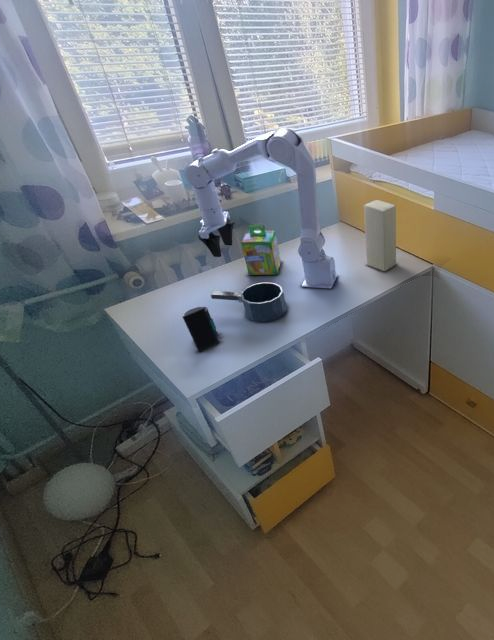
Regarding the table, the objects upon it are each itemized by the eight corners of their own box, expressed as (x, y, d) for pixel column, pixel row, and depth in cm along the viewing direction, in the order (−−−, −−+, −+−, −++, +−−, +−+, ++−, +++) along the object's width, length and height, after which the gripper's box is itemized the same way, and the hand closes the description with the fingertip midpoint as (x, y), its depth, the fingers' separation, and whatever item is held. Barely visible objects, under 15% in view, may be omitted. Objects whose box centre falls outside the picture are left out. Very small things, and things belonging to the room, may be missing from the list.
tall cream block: (398, 263, 148) (397, 204, 135) (385, 272, 143) (383, 211, 130) (380, 257, 151) (377, 198, 138) (366, 265, 146) (362, 205, 133)
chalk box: (248, 275, 138) (236, 232, 128) (254, 262, 145) (243, 220, 135) (278, 275, 139) (268, 232, 129) (282, 261, 146) (273, 220, 136)
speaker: (222, 345, 110) (208, 310, 104) (198, 352, 108) (182, 318, 102) (218, 331, 116) (204, 298, 110) (195, 338, 114) (180, 304, 107)
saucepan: (291, 301, 127) (287, 283, 123) (279, 323, 119) (274, 304, 115) (225, 297, 128) (219, 279, 124) (208, 318, 119) (201, 299, 115)
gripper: (208, 196, 126) (220, 239, 135) (182, 215, 115) (198, 260, 124) (231, 198, 126) (242, 240, 135) (208, 217, 115) (222, 262, 124)
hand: (223, 250), depth 129 cm, fingers open, 7 cm apart
